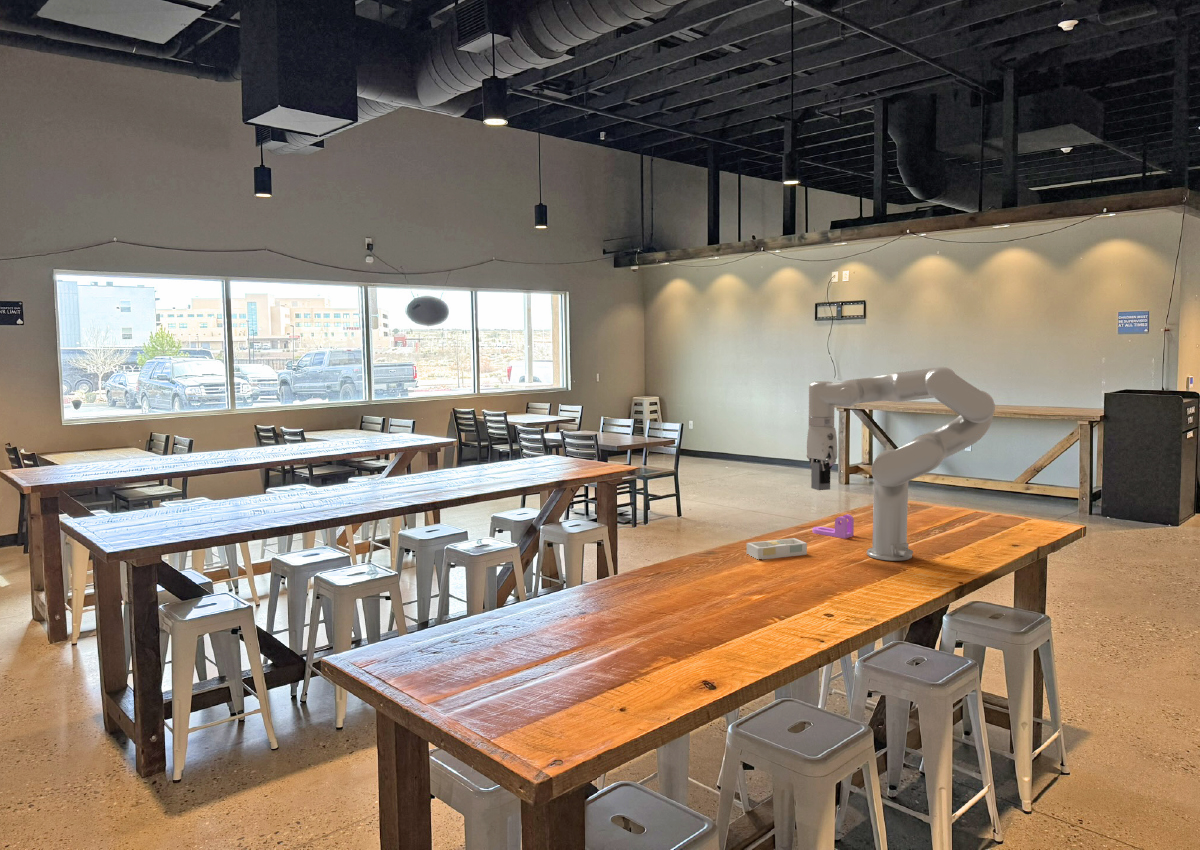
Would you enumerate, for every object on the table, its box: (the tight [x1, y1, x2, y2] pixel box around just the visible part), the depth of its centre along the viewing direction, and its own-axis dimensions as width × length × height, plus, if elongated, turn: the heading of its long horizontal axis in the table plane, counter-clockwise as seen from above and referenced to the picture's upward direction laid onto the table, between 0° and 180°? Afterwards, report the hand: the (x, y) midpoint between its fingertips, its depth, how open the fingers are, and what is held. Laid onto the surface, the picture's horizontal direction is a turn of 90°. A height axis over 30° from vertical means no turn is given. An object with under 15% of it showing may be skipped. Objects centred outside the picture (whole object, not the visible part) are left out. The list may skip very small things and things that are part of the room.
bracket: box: [812, 513, 855, 540], centre depth 269 cm, size 13×6×7 cm, turn 45°
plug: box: [810, 462, 831, 491], centre depth 247 cm, size 4×4×8 cm
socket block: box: [746, 537, 808, 561], centre depth 245 cm, size 7×17×4 cm, turn 108°
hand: (820, 481), depth 248 cm, fingers closed on plug, 3 cm apart
